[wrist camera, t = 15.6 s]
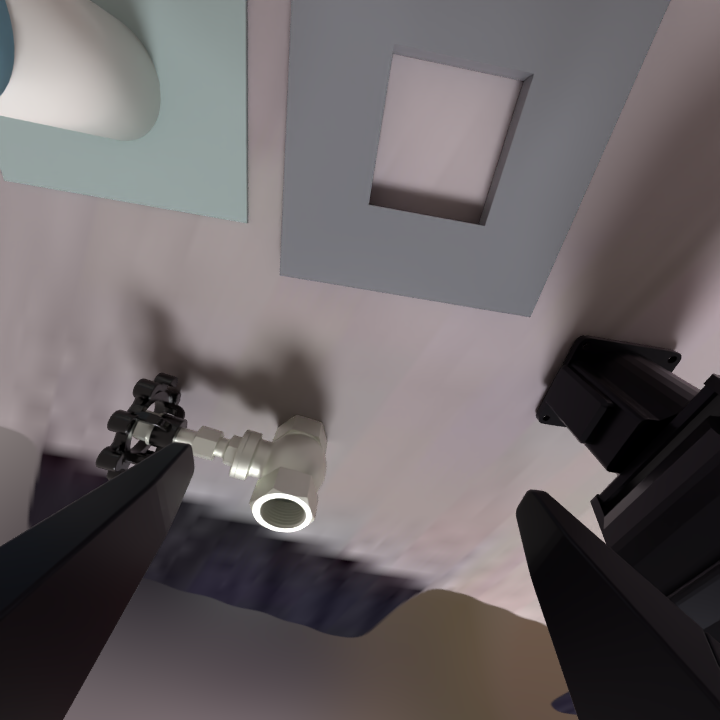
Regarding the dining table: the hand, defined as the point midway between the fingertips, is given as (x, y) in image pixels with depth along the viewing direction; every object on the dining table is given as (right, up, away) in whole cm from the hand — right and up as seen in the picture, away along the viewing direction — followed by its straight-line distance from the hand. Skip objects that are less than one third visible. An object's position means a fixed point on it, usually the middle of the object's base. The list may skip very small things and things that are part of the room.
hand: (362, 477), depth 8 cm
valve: (-8, -1, +15) cm, 17 cm away
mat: (-11, +15, +6) cm, 20 cm away
